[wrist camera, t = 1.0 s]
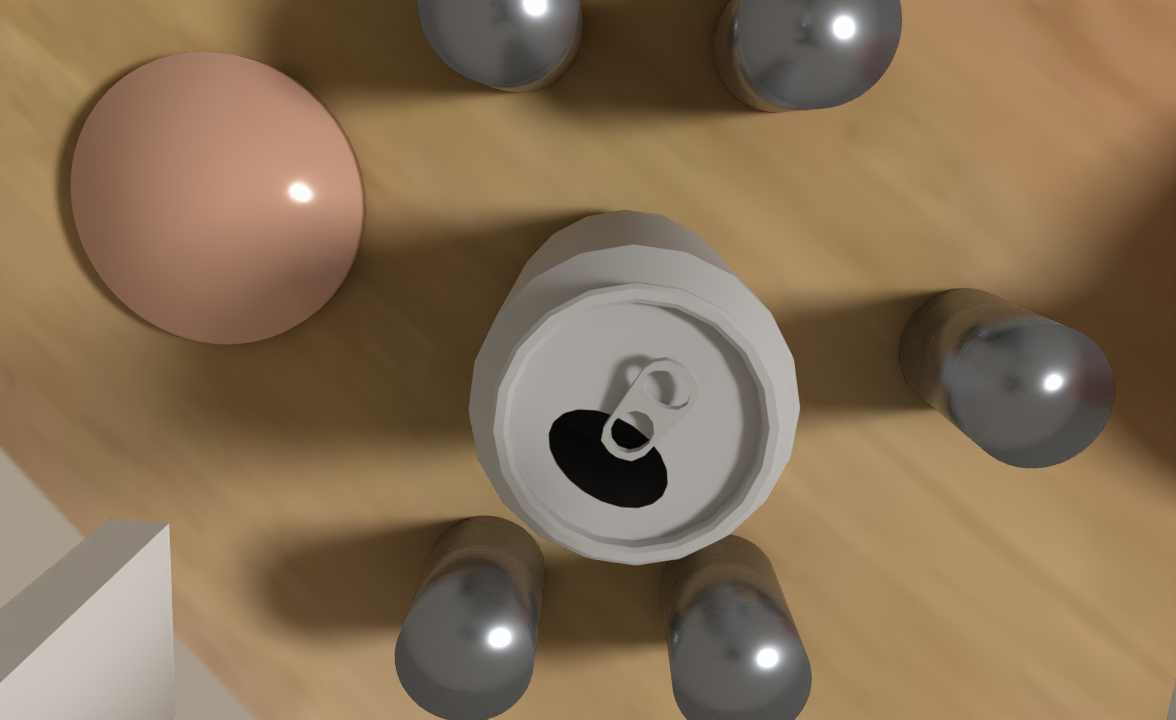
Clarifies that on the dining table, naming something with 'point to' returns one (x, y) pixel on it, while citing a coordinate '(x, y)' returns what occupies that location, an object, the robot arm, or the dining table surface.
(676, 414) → the can
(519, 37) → the chrome peg cluster
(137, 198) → the pink flat disc
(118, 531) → the robot arm
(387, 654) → the dining table surface
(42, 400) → the dining table surface
